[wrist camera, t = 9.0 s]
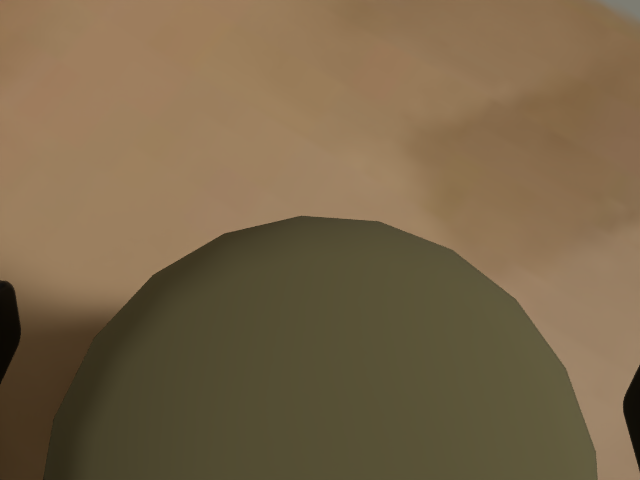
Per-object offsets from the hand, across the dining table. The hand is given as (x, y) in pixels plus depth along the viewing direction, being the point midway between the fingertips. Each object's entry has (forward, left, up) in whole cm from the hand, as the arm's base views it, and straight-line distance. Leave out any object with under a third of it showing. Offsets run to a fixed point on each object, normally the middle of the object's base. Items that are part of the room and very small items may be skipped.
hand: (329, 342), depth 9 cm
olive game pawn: (-2, 0, -7) cm, 7 cm away
